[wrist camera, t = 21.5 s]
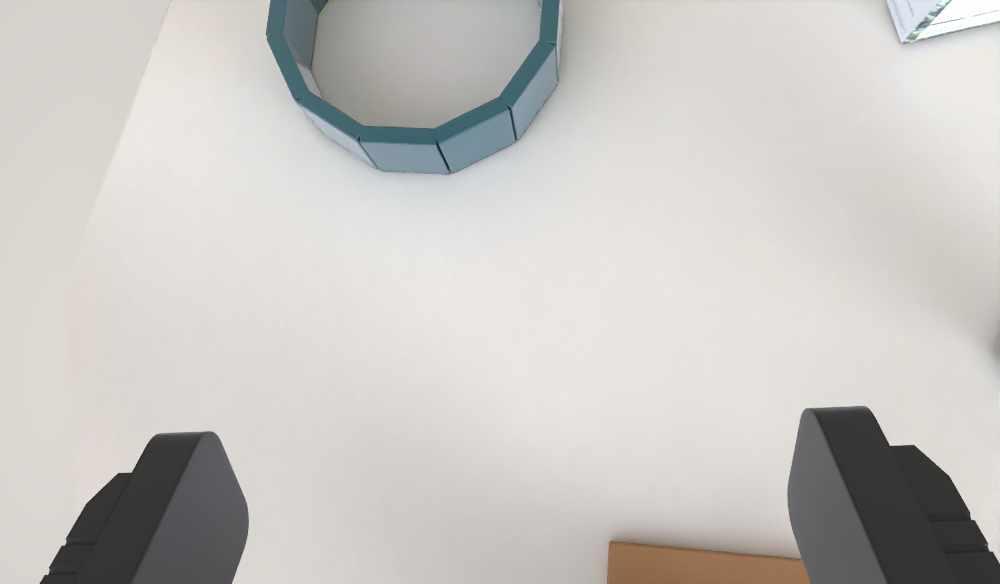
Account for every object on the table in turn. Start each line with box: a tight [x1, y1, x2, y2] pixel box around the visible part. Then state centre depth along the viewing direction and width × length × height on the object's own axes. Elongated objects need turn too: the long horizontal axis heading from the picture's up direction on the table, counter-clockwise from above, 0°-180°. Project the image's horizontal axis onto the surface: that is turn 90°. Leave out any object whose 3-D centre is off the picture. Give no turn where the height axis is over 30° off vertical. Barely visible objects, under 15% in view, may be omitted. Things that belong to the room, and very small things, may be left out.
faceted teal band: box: [266, 0, 563, 174], centre depth 37 cm, size 14×14×4 cm
